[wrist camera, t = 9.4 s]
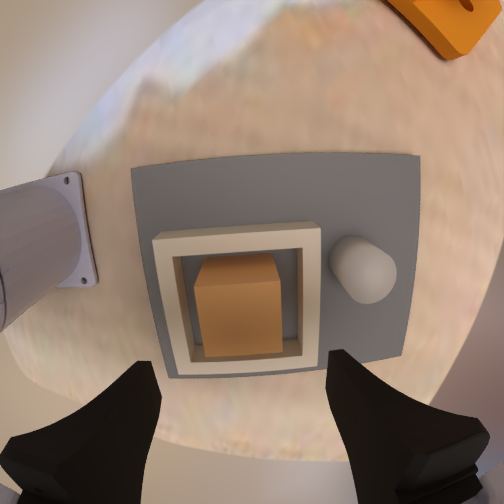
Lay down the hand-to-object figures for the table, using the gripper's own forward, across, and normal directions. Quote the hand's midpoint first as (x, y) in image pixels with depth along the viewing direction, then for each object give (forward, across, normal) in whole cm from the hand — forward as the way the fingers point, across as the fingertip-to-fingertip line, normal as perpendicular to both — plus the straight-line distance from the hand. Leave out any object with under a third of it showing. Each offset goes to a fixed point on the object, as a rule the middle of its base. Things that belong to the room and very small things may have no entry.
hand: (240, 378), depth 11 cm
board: (+9, -3, -1) cm, 9 cm away
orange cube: (+8, 0, -1) cm, 8 cm away
